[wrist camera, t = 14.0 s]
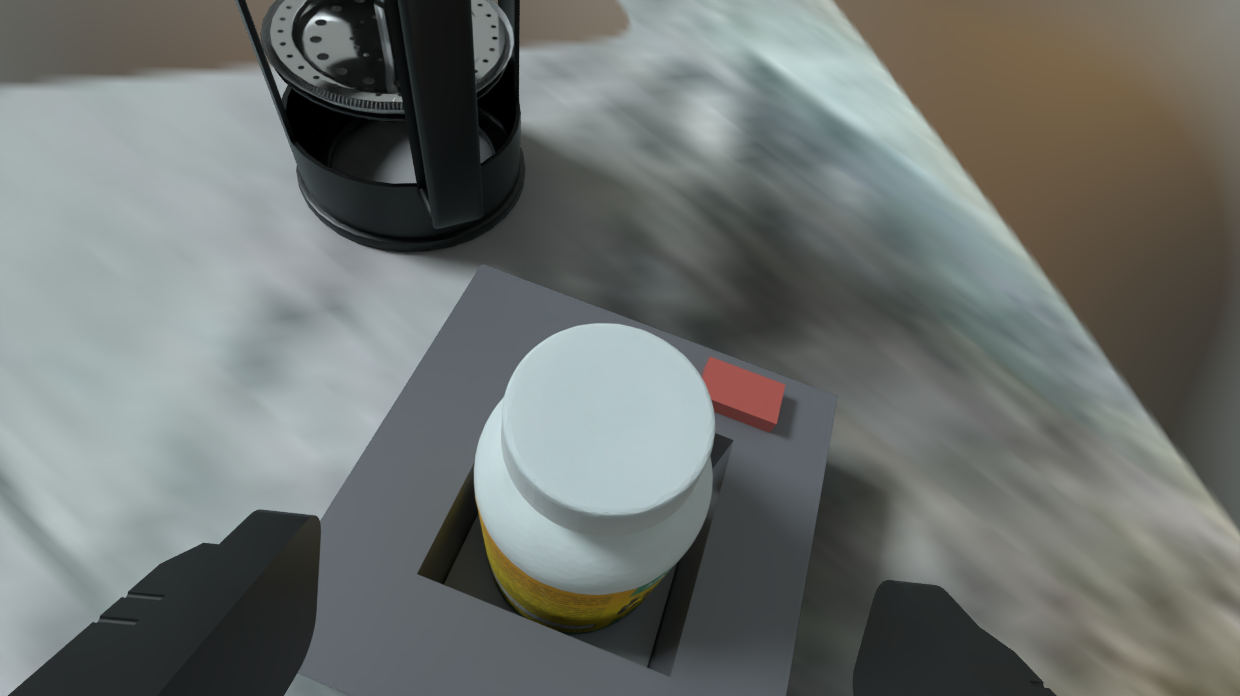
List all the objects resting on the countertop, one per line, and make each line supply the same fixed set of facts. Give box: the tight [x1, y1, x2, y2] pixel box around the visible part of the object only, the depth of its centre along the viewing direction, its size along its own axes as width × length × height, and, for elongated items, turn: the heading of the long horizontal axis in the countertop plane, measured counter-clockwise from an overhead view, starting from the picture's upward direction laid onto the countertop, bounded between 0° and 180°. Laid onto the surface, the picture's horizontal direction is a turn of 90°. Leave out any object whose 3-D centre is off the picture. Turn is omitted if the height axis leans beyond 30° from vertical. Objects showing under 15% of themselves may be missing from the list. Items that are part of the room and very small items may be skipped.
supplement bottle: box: [474, 323, 716, 636], centre depth 16 cm, size 5×5×10 cm
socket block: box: [298, 264, 838, 696], centre depth 18 cm, size 12×12×5 cm
